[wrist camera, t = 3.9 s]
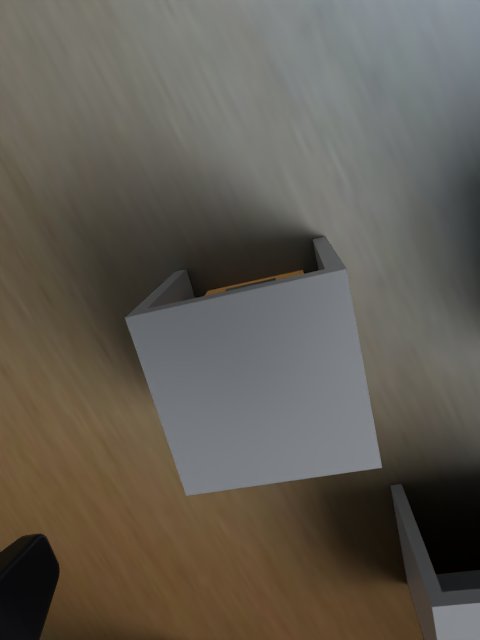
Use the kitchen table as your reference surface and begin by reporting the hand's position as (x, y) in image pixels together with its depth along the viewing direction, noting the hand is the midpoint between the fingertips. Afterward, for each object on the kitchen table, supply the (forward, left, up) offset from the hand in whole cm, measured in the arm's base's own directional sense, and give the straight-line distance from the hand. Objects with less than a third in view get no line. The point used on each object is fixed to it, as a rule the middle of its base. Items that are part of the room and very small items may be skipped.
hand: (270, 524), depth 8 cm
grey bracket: (0, 0, -11) cm, 11 cm away
